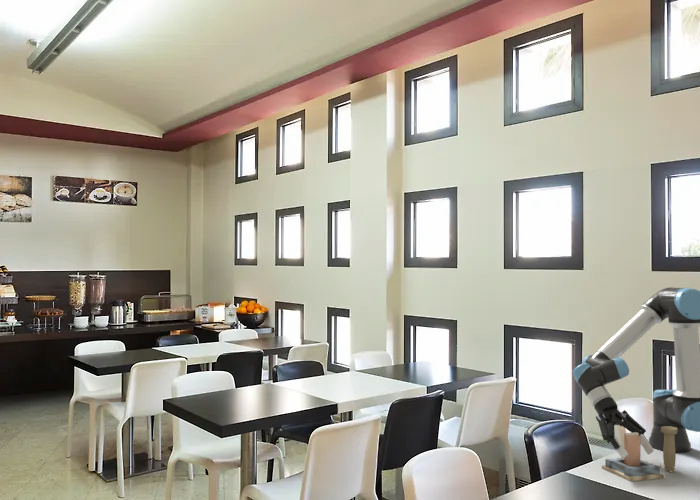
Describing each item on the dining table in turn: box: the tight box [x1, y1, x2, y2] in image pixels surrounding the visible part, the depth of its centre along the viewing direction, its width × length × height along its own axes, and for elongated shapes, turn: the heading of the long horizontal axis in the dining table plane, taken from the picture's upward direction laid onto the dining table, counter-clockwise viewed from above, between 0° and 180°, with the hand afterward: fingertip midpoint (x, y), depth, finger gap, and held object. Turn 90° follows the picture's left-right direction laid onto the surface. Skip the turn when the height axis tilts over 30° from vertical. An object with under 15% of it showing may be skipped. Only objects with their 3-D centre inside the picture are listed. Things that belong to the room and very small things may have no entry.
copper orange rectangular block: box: [623, 432, 642, 467], centre depth 213 cm, size 5×5×13 cm
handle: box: [661, 426, 678, 473], centre depth 216 cm, size 5×6×15 cm
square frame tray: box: [601, 457, 665, 482], centre depth 213 cm, size 14×14×4 cm
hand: (638, 454), depth 210 cm, fingers open, 12 cm apart
